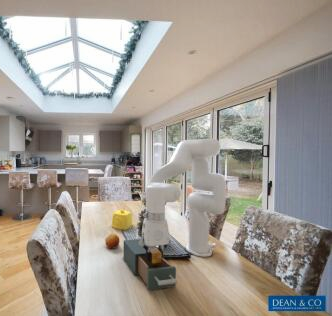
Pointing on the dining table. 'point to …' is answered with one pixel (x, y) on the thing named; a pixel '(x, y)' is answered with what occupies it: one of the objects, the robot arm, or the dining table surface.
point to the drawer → (156, 273)
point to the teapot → (122, 219)
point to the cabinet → (133, 253)
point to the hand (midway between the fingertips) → (154, 259)
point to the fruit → (112, 241)
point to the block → (156, 255)
